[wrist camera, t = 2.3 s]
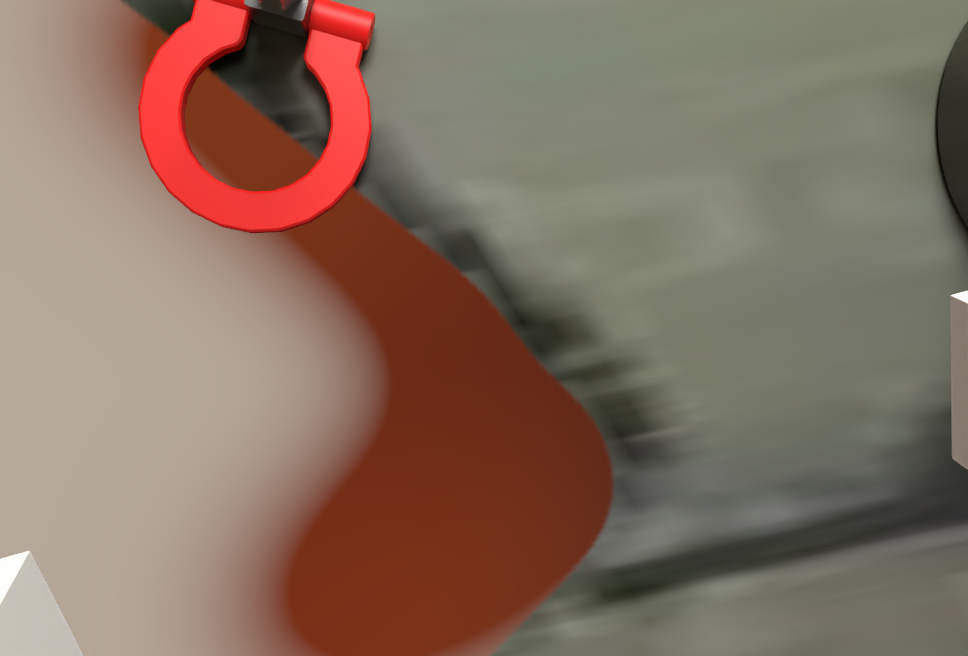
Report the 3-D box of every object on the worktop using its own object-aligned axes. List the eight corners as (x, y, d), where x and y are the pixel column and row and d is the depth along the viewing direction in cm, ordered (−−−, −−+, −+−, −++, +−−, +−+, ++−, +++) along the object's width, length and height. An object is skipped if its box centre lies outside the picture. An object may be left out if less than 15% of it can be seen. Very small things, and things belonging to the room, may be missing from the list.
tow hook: (342, 257, 34) (399, 25, 33) (315, 237, 21) (409, -140, 21) (123, 202, 33) (181, -38, 32) (-48, 144, 20) (48, -253, 20)
